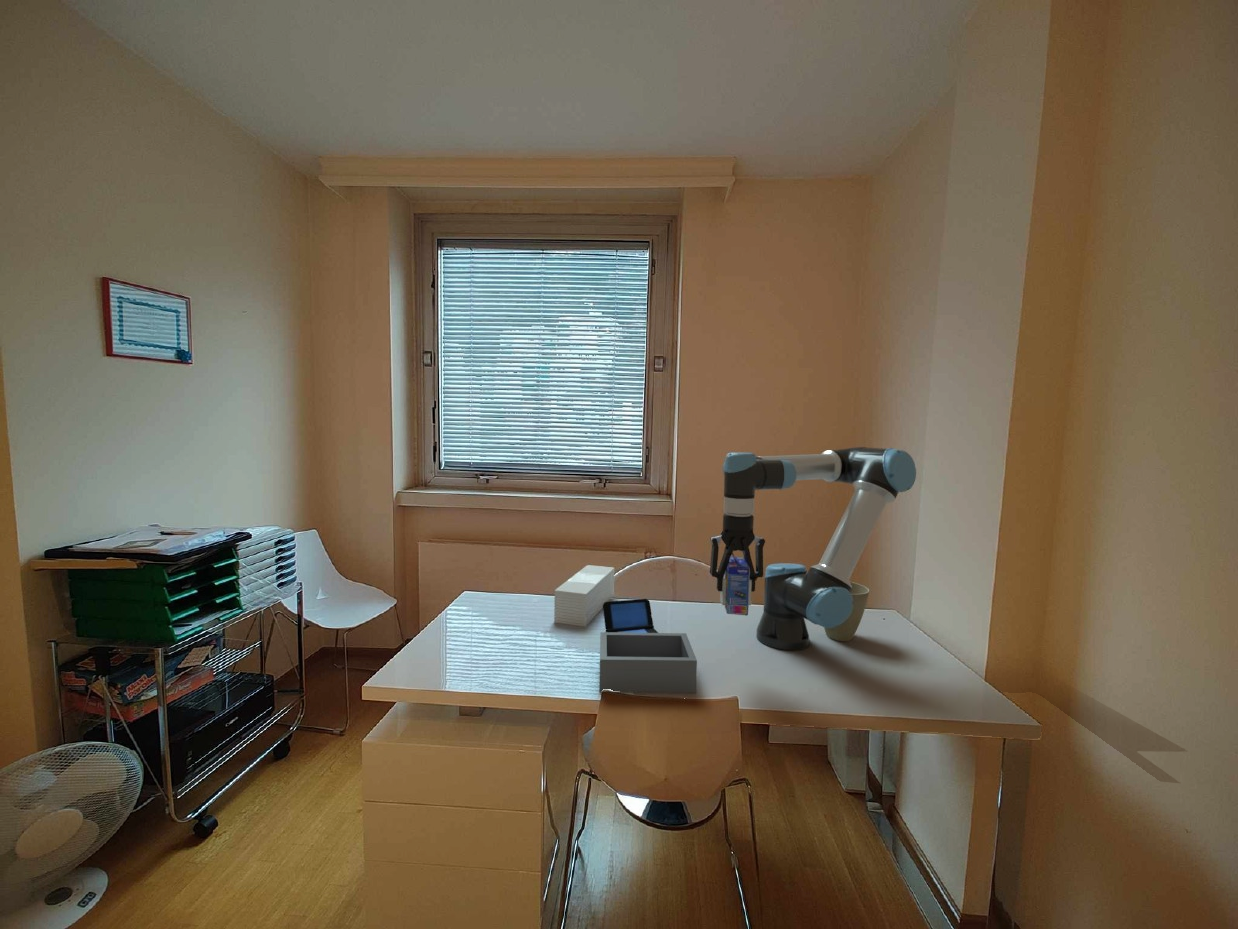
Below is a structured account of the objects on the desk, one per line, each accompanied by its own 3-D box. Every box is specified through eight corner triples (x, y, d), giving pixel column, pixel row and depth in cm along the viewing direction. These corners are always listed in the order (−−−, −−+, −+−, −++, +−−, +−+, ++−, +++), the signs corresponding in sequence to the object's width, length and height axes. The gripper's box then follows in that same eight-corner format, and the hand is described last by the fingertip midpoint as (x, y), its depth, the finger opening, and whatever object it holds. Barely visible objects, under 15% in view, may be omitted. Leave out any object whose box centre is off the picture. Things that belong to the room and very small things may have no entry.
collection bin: (685, 662, 137) (686, 633, 137) (695, 693, 121) (696, 660, 121) (599, 661, 137) (600, 632, 136) (599, 692, 121) (600, 659, 120)
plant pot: (860, 651, 147) (863, 597, 146) (807, 637, 156) (810, 586, 155) (870, 635, 159) (874, 585, 158) (821, 623, 168) (824, 576, 167)
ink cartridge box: (721, 600, 135) (725, 547, 134) (742, 602, 135) (746, 548, 134) (725, 614, 125) (729, 556, 124) (748, 616, 125) (752, 558, 124)
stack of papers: (585, 627, 160) (586, 593, 160) (554, 623, 163) (554, 590, 162) (613, 595, 191) (614, 567, 190) (586, 592, 194) (587, 564, 193)
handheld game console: (614, 649, 145) (615, 617, 144) (601, 631, 158) (601, 601, 157) (664, 643, 150) (665, 612, 149) (648, 626, 163) (648, 597, 162)
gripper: (770, 511, 132) (766, 598, 134) (698, 510, 132) (696, 598, 133) (780, 516, 125) (776, 609, 127) (704, 516, 124) (701, 608, 126)
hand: (735, 603), depth 130 cm, fingers closed on ink cartridge box, 6 cm apart
